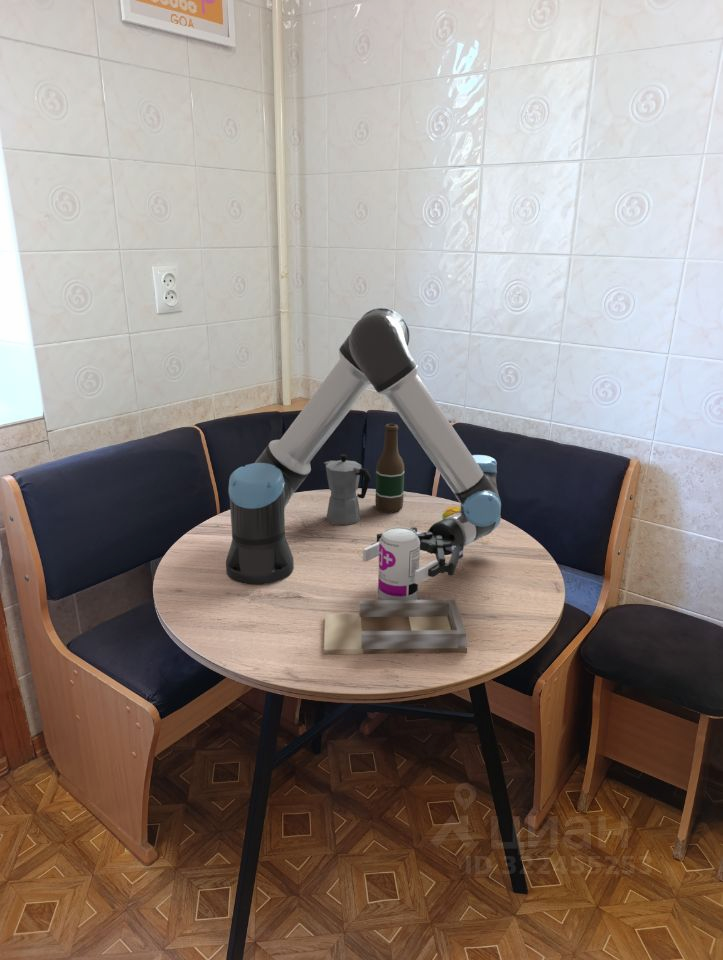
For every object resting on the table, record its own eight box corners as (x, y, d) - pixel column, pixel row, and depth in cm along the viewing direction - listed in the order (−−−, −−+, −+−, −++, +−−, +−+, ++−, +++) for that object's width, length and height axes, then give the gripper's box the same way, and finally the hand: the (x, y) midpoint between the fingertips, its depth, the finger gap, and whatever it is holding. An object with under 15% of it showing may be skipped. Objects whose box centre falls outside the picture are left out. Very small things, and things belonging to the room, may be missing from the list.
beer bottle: (408, 507, 185) (412, 424, 177) (390, 515, 180) (393, 430, 171) (387, 500, 190) (390, 419, 182) (369, 507, 185) (370, 424, 176)
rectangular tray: (324, 654, 119) (323, 635, 118) (325, 618, 131) (324, 600, 129) (467, 652, 120) (468, 633, 119) (455, 617, 132) (457, 599, 130)
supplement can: (388, 613, 133) (390, 545, 128) (371, 594, 140) (372, 529, 135) (424, 605, 136) (427, 539, 131) (406, 587, 143) (408, 523, 138)
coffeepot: (313, 517, 178) (312, 453, 172) (336, 507, 185) (336, 445, 179) (358, 532, 169) (358, 466, 163) (380, 521, 176) (381, 457, 170)
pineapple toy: (468, 521, 176) (469, 503, 175) (467, 537, 167) (468, 517, 165) (442, 519, 177) (443, 501, 176) (440, 535, 168) (441, 515, 166)
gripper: (498, 567, 141) (438, 604, 126) (407, 533, 157) (344, 563, 142) (501, 535, 138) (440, 569, 123) (408, 503, 154) (344, 531, 139)
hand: (389, 566), depth 133 cm, fingers open, 13 cm apart
